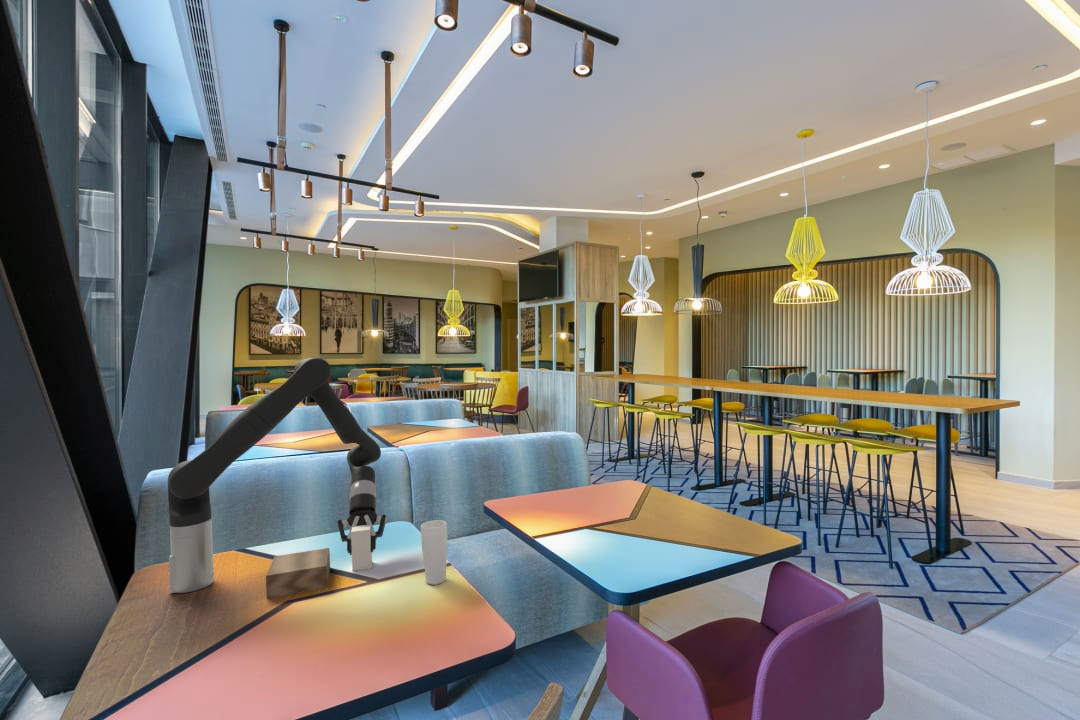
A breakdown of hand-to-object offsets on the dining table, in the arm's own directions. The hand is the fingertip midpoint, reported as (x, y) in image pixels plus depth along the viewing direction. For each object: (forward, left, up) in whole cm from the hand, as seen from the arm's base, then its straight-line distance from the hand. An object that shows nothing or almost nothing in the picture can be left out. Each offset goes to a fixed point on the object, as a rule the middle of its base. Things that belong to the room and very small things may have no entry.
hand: (361, 551), depth 141 cm
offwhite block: (0, +2, -5) cm, 5 cm away
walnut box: (-16, 0, -5) cm, 16 cm away
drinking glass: (+16, -19, -5) cm, 26 cm away
